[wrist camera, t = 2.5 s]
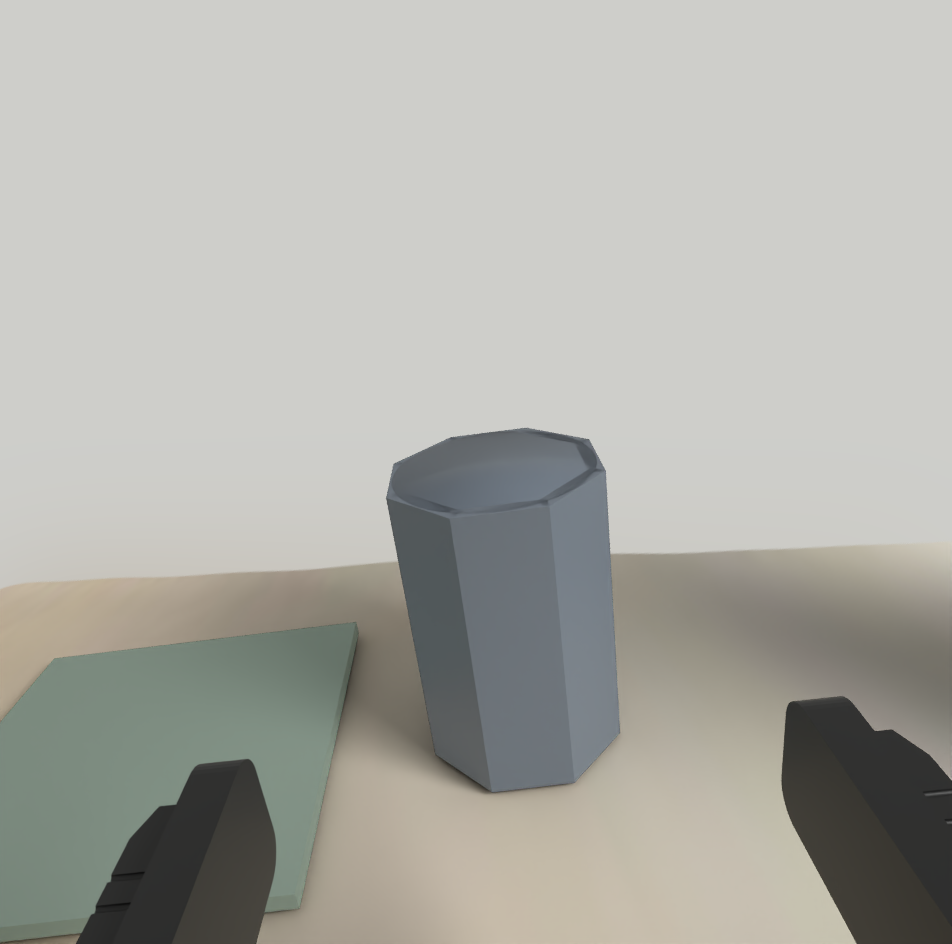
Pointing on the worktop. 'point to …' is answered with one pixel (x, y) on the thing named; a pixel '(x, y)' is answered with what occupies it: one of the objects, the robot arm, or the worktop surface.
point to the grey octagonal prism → (510, 602)
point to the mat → (160, 759)
